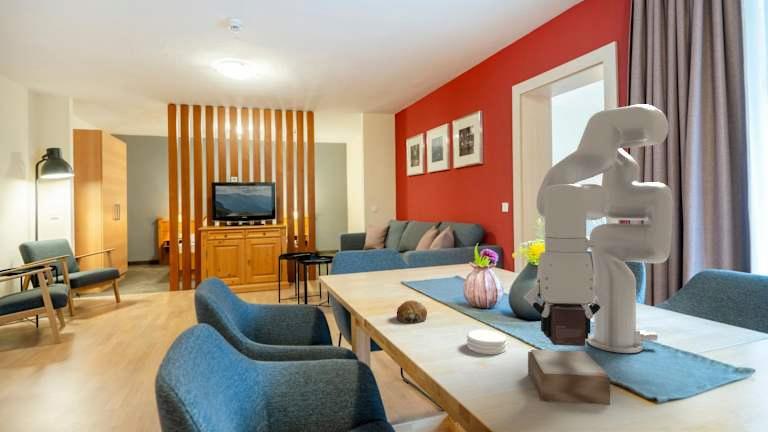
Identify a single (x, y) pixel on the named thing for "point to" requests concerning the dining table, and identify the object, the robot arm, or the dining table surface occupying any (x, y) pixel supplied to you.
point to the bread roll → (411, 312)
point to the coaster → (486, 342)
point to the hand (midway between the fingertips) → (565, 335)
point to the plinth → (568, 377)
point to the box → (567, 325)
